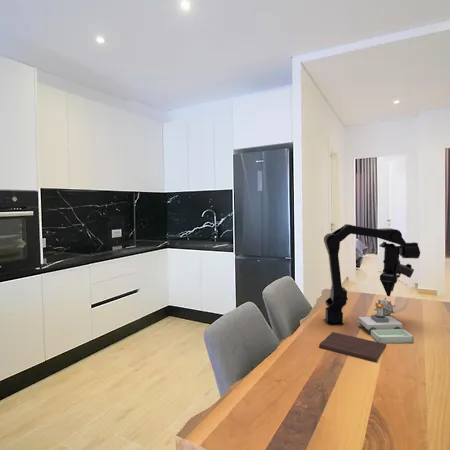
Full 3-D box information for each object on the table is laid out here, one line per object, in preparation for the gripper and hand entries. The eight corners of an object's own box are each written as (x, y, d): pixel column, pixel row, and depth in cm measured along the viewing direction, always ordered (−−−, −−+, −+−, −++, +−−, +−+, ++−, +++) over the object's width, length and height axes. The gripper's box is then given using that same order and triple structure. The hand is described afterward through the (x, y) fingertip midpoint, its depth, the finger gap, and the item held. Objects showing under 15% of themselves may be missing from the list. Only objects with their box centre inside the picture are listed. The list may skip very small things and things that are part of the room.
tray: (379, 343, 122) (379, 337, 122) (370, 336, 129) (370, 329, 129) (413, 342, 123) (413, 336, 122) (403, 335, 130) (403, 329, 129)
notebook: (332, 335, 132) (332, 330, 132) (385, 347, 120) (385, 342, 120) (319, 349, 120) (319, 343, 120) (376, 364, 108) (376, 358, 108)
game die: (389, 325, 150) (402, 311, 144) (371, 318, 150) (384, 305, 144) (385, 310, 157) (397, 297, 152) (368, 304, 157) (380, 290, 152)
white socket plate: (368, 334, 131) (368, 321, 130) (358, 325, 140) (358, 313, 140) (402, 333, 131) (402, 320, 130) (390, 325, 140) (390, 312, 140)
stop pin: (377, 322, 134) (377, 305, 133) (373, 319, 137) (373, 303, 136) (385, 321, 134) (386, 305, 133) (381, 318, 137) (381, 303, 136)
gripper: (411, 263, 127) (409, 302, 129) (414, 256, 143) (413, 291, 144) (380, 260, 134) (378, 297, 135) (386, 254, 149) (385, 287, 150)
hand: (390, 293), depth 141 cm, fingers open, 9 cm apart
